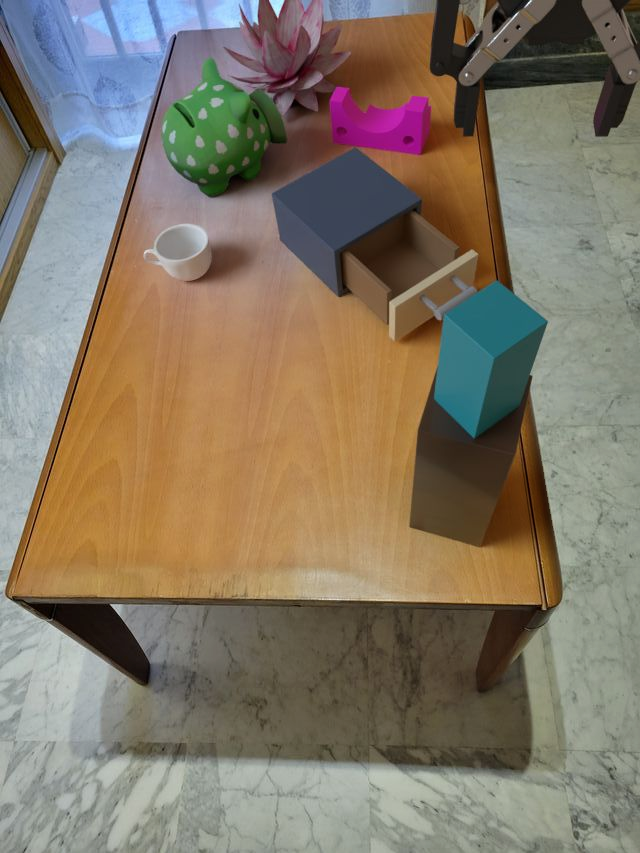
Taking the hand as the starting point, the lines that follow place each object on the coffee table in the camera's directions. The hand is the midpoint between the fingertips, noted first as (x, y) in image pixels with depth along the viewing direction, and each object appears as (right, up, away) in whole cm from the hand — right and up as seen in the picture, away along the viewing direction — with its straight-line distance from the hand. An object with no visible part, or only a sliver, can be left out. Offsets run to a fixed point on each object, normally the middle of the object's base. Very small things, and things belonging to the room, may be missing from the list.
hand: (533, 129), depth 42 cm
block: (-1, -18, +11) cm, 21 cm away
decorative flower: (-19, +40, +72) cm, 85 cm away
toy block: (-4, +29, +64) cm, 70 cm away
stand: (+1, -29, +30) cm, 42 cm away
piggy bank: (-29, +22, +63) cm, 73 cm away
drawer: (-2, -2, +45) cm, 45 cm away
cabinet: (-10, +7, +52) cm, 53 cm away
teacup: (-35, +3, +52) cm, 63 cm away
